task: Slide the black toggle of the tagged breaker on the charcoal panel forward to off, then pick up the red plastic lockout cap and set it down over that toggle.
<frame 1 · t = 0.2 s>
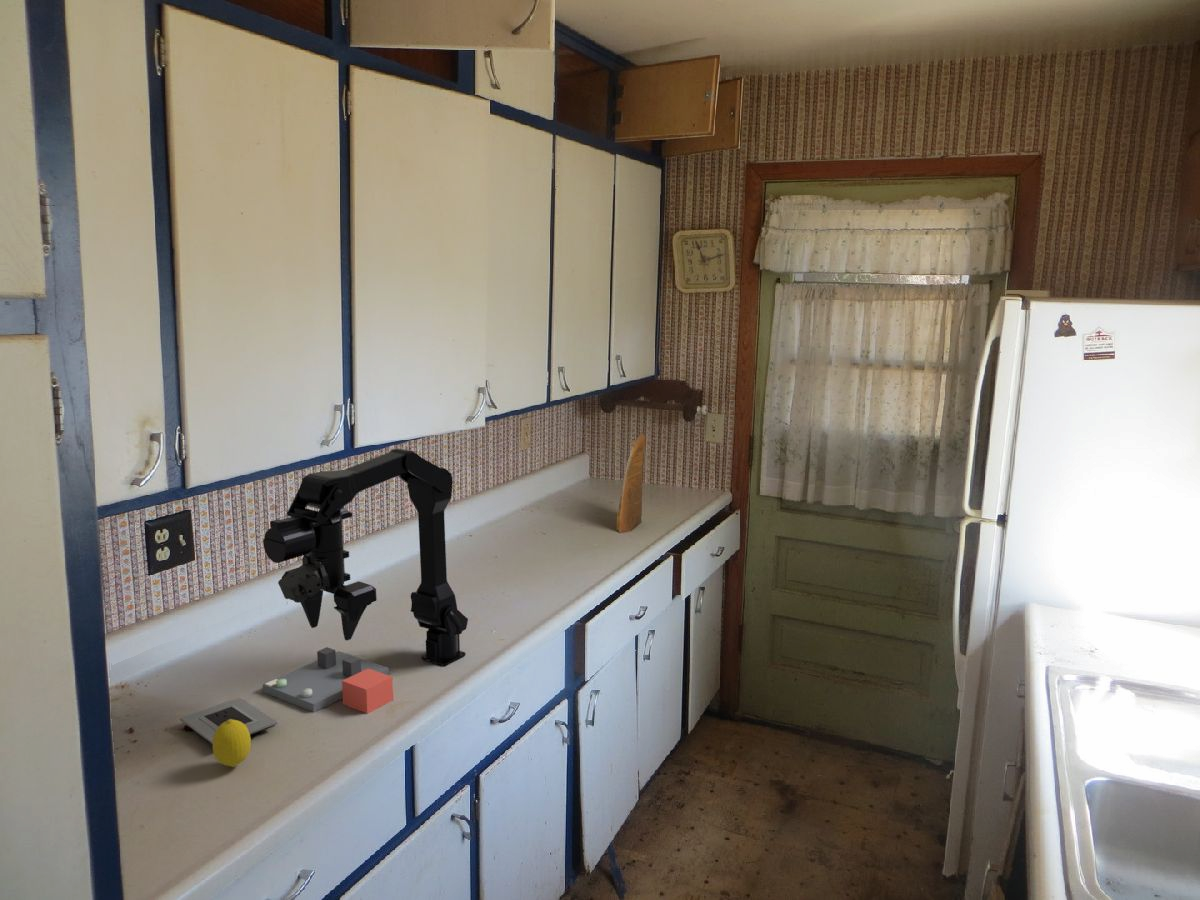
hand: (330, 633, 158), 14 cm above the worktop, tool pointing down, fingers open, 9 cm apart
electrical outlet: (229, 732, 154), on the worktop
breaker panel: (327, 683, 171), on the worktop
lemon: (233, 768, 142), on the worktop
breaker tagged: (326, 658, 175), point 3 cm above the worktop, slide at 0.0 cm
dark grey small block: (351, 666, 171), point 3 cm above the worktop, slide at 0.0 cm
wooden fin shape: (631, 526, 279), on the worktop
lockout cap: (368, 702, 164), on the worktop
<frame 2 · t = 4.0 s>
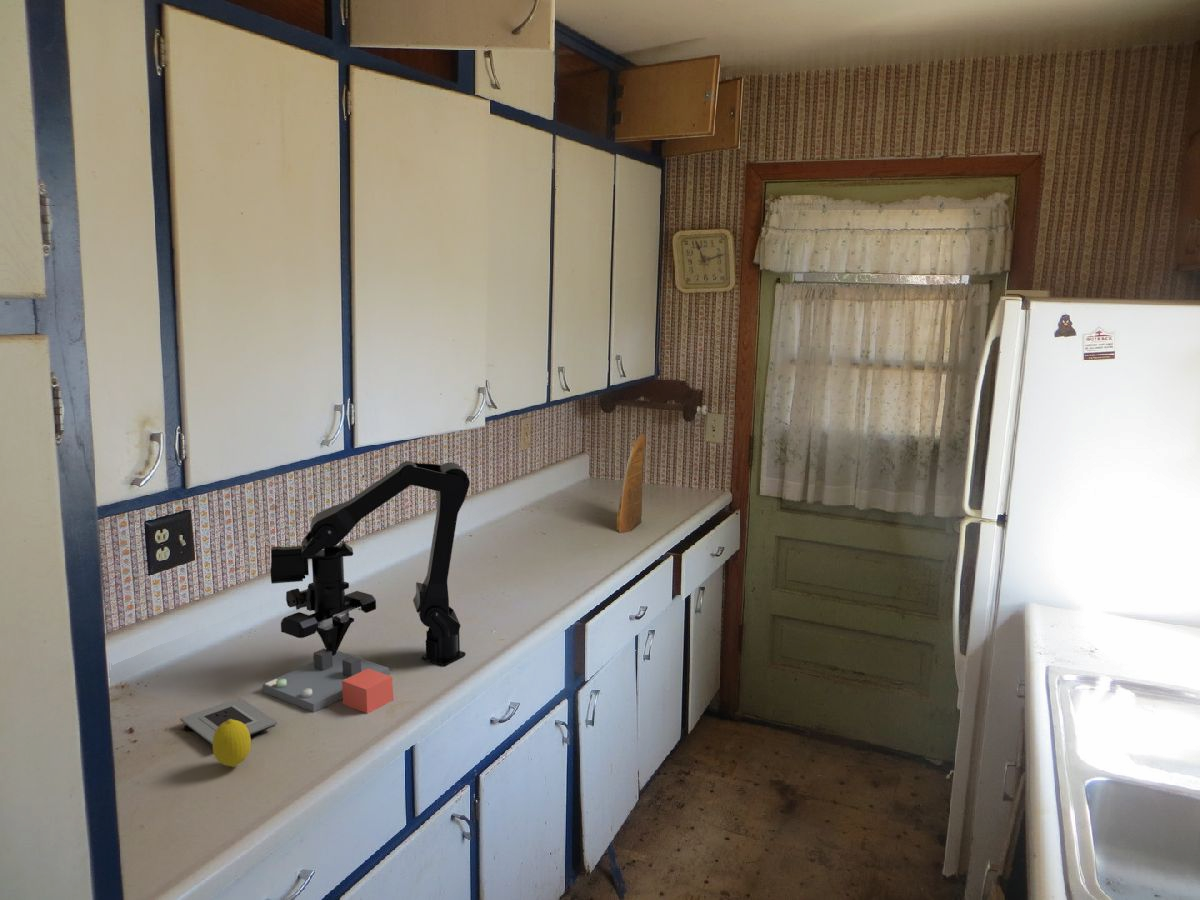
hand: (332, 655, 176), 3 cm above the worktop, tool pointing down, fingers closed
breaker tagged: (323, 659, 174), point 3 cm above the worktop, slide at 0.9 cm, touching gripper
everything else where it was.
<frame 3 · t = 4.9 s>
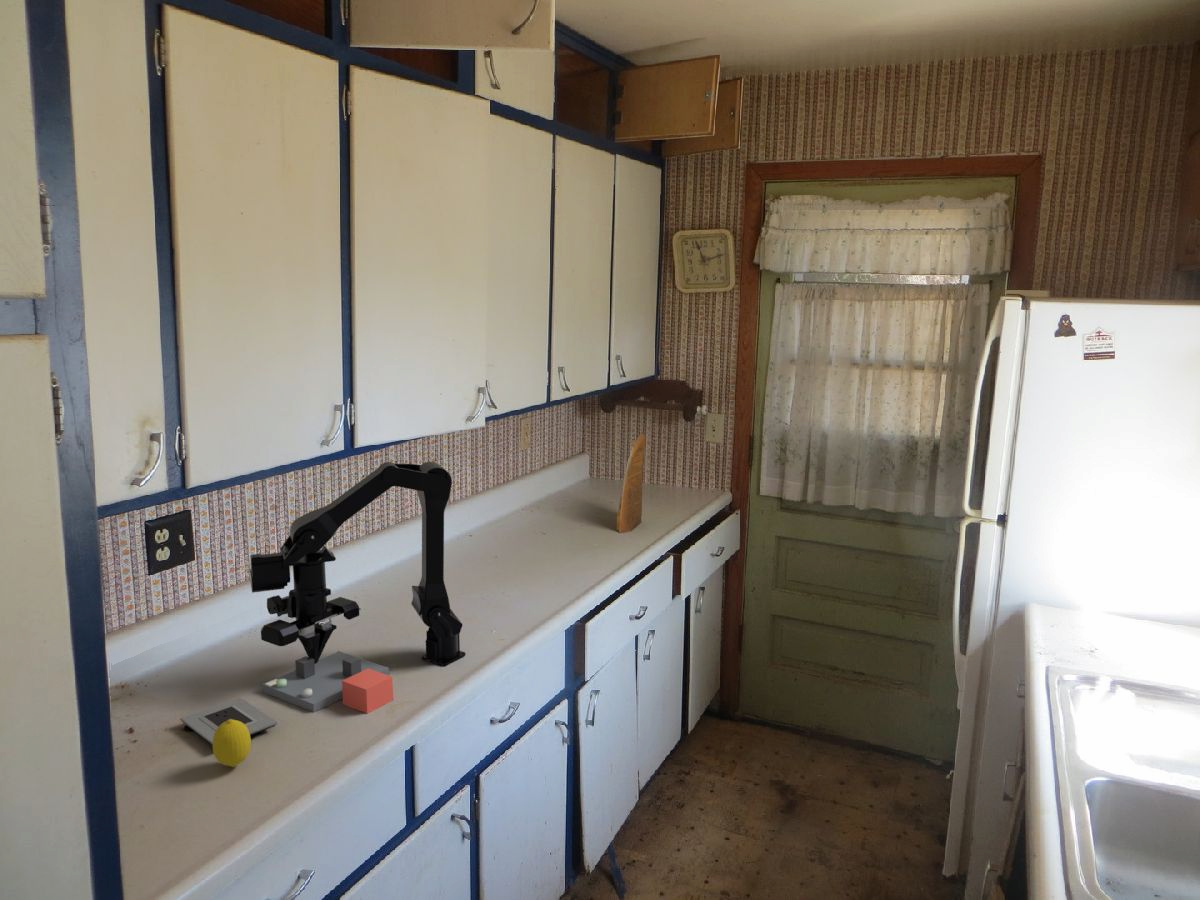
hand: (314, 663, 173), 3 cm above the worktop, tool pointing down, fingers closed
breaker tagged: (305, 667, 171), point 3 cm above the worktop, slide at 5.1 cm, touching gripper
everything else where it was.
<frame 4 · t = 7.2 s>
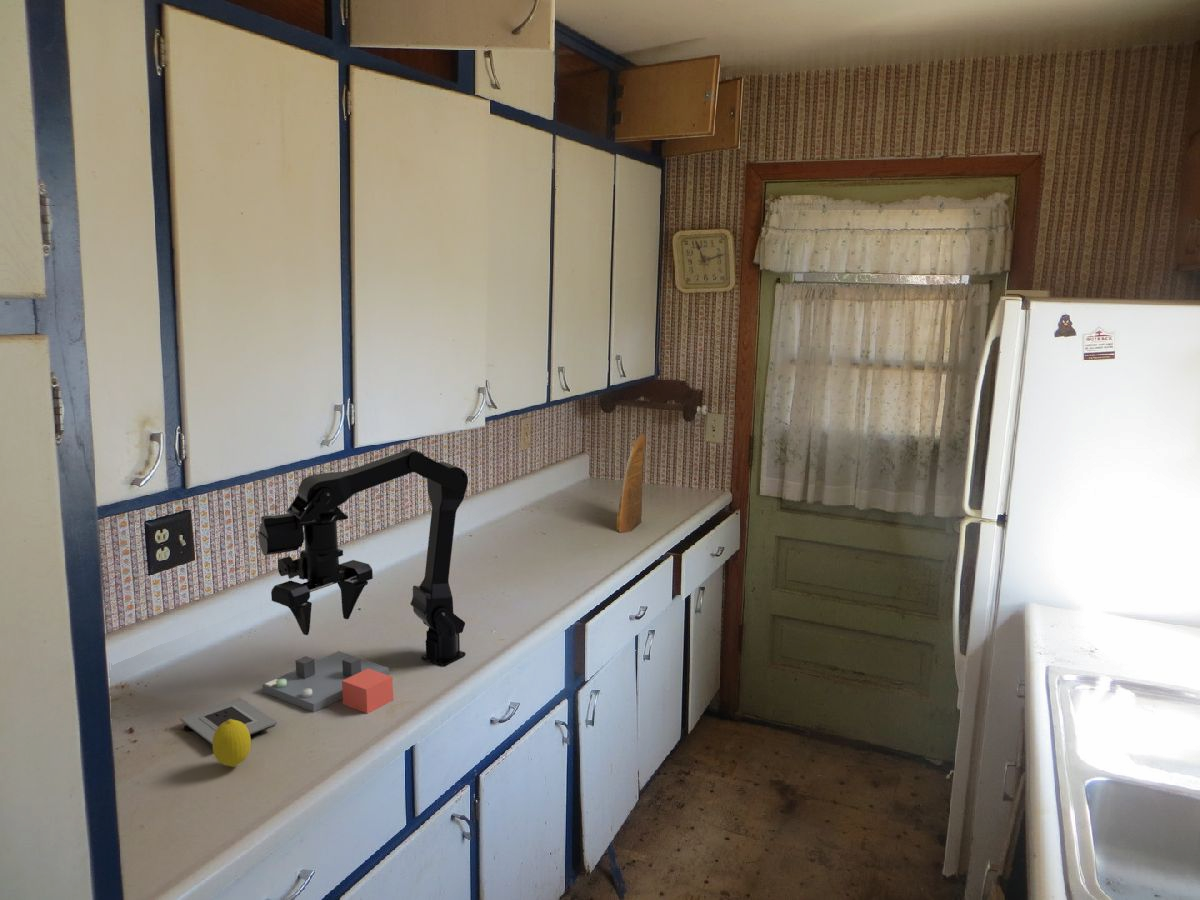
hand: (326, 626, 168), 12 cm above the worktop, tool pointing down, fingers open, 9 cm apart
breaker tagged: (305, 667, 171), point 3 cm above the worktop, slide at 5.1 cm
everything else where it was.
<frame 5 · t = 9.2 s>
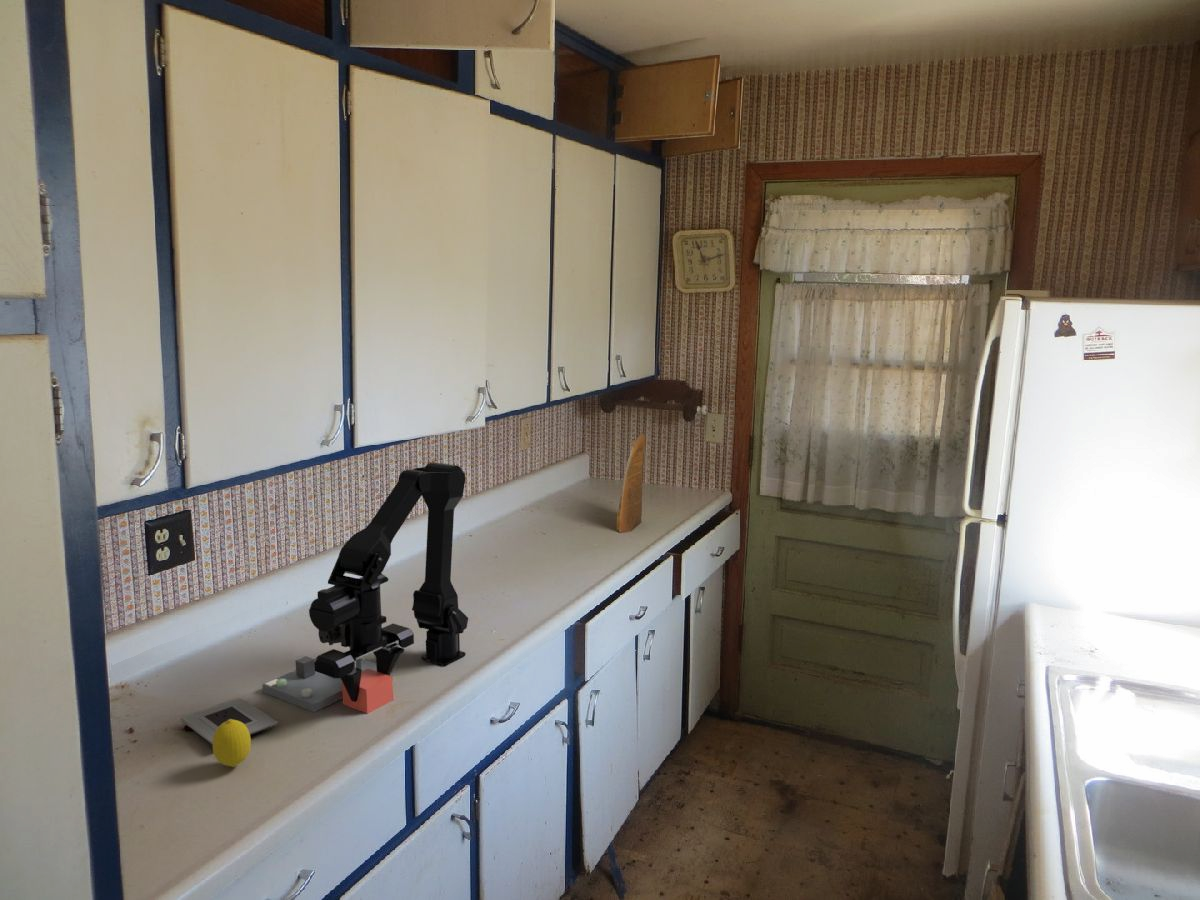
hand: (367, 694, 164), 2 cm above the worktop, tool pointing down, fingers closed on lockout cap, 6 cm apart
lockout cap: (368, 702, 164), on the worktop, touching gripper
everything else where it was.
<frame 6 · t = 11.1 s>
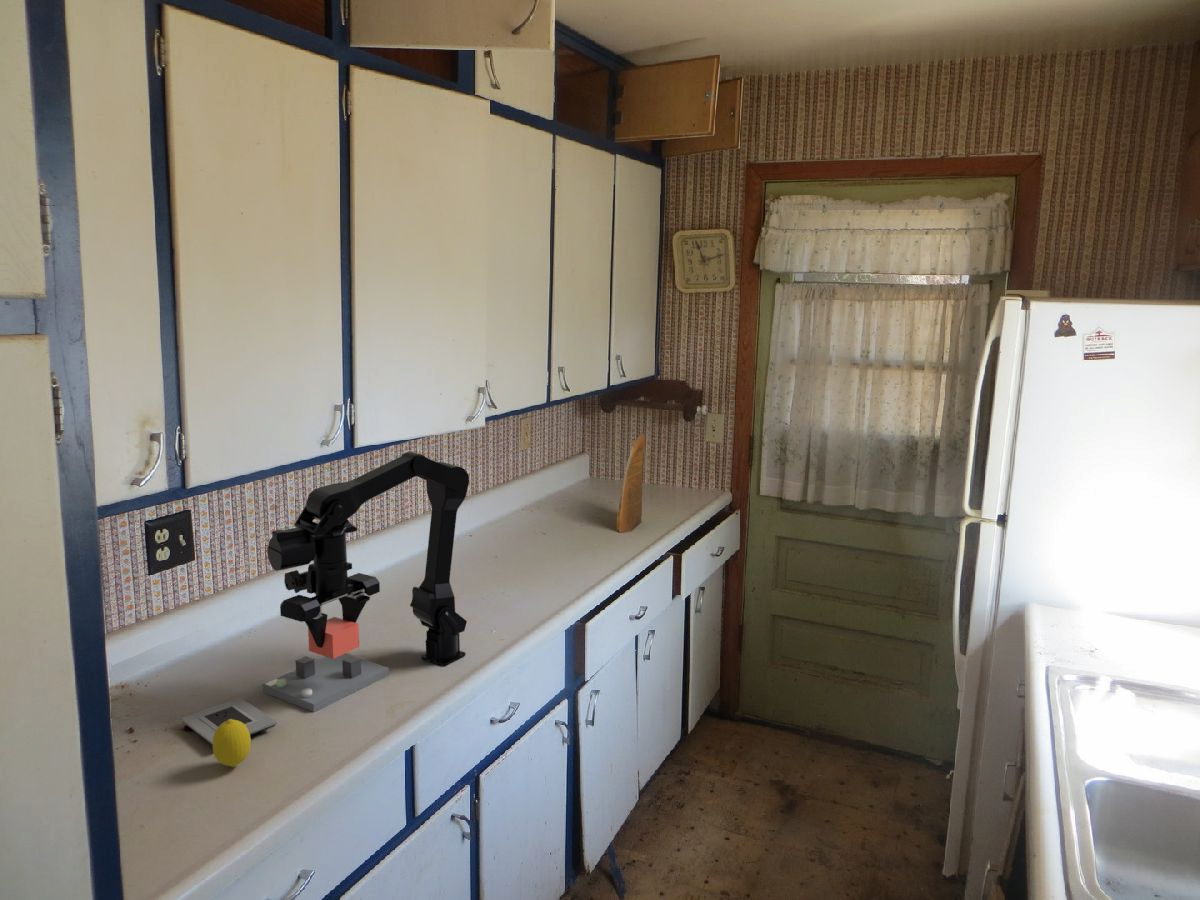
hand: (333, 640, 166), 10 cm above the worktop, tool pointing down, fingers closed on lockout cap, 6 cm apart
lockout cap: (334, 649, 166), point 9 cm above the worktop, touching gripper
everything else where it was.
when the fingers open (4 cm above the worktop, at t = 13.4 s): lockout cap drops 1 cm, resting on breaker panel.
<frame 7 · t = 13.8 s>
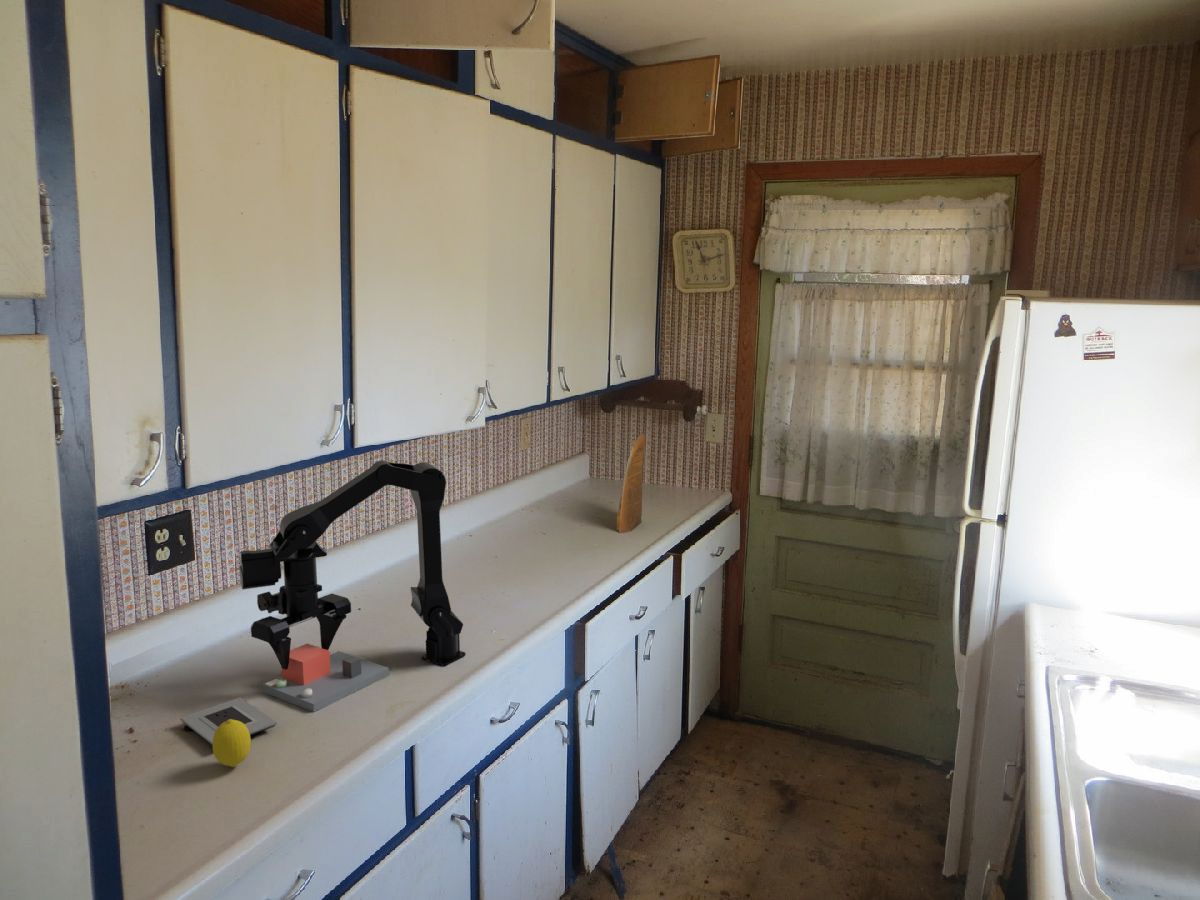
hand: (305, 660, 171), 4 cm above the worktop, tool pointing down, fingers open, 9 cm apart
lockout cap: (306, 675, 171), point 1 cm above the worktop, touching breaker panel
everything else where it was.
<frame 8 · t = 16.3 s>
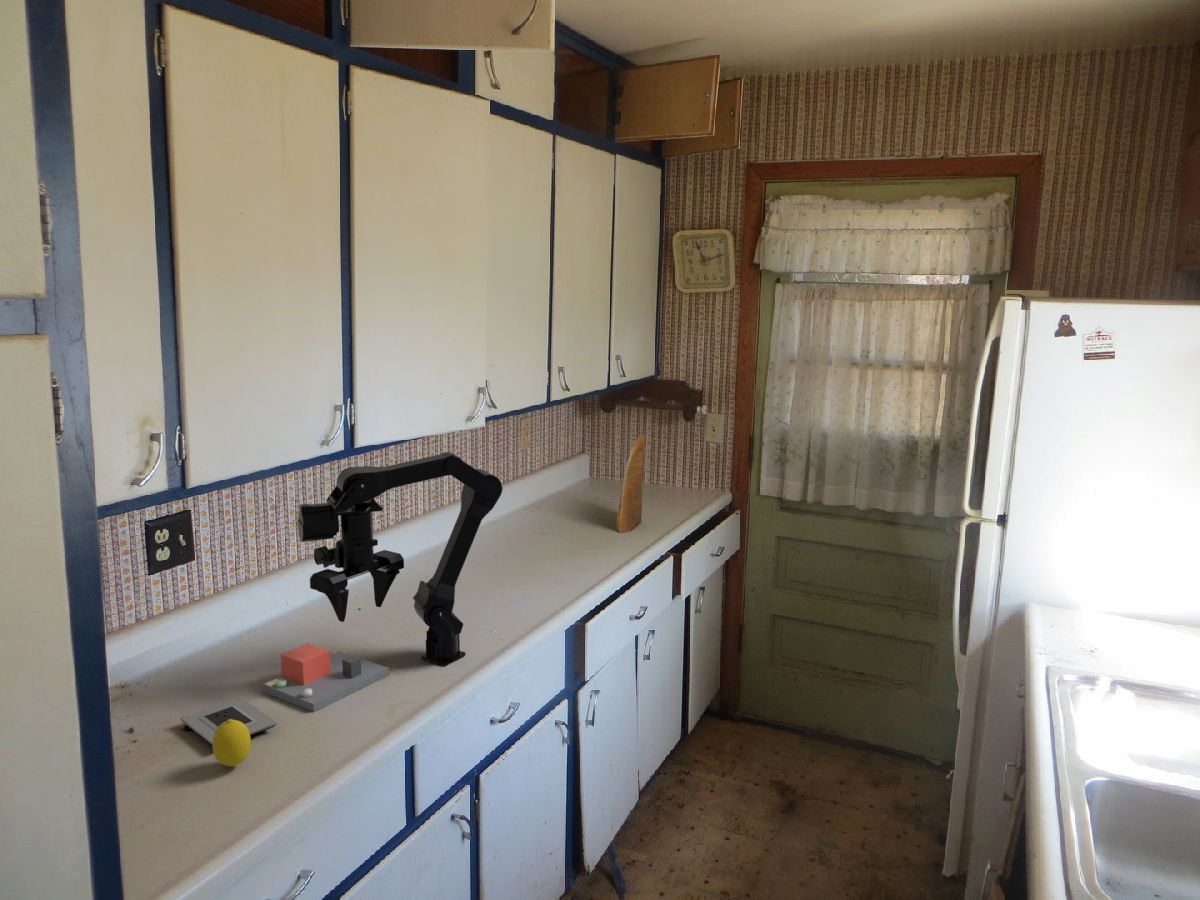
hand: (360, 613, 174), 12 cm above the worktop, tool pointing down, fingers open, 9 cm apart
nothing on the worktop moved.
at the end: breaker tagged slide at 5.1 cm; lockout cap 0.0 cm from the target spot, point 1.5 cm above the worktop; lockout cap tilted 0° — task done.
